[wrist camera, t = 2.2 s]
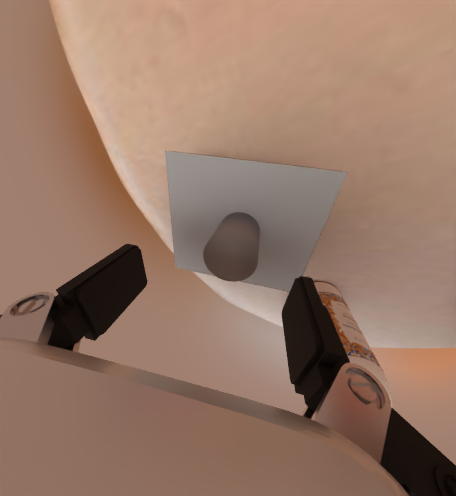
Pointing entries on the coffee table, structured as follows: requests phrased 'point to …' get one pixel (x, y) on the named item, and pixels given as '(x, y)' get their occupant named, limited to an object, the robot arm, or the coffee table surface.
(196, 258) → the lid
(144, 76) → the coffee table surface
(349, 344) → the bath foam
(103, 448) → the robot arm
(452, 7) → the coffee table surface
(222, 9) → the coffee table surface
